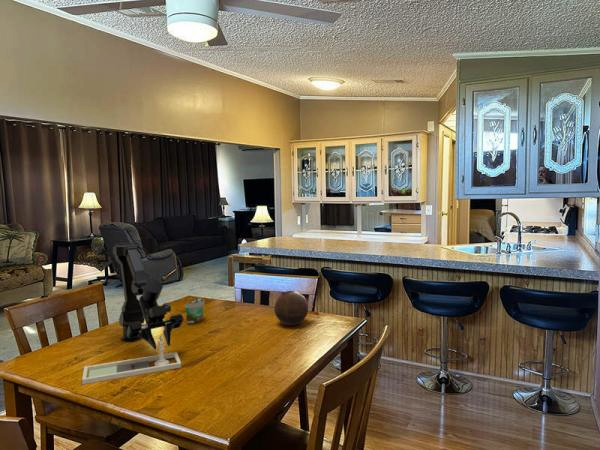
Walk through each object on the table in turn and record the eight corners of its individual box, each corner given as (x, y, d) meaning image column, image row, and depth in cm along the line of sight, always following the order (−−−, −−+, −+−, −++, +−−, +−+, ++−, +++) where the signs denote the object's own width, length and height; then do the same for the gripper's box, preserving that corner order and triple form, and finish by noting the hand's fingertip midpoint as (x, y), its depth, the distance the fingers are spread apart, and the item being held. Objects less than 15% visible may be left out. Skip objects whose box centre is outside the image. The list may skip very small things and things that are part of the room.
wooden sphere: (313, 327, 185) (313, 293, 184) (281, 331, 180) (280, 296, 178) (300, 317, 199) (300, 286, 198) (270, 321, 193) (269, 289, 192)
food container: (198, 326, 188) (197, 304, 187) (185, 325, 190) (184, 303, 189) (209, 318, 200) (209, 297, 199) (197, 317, 202) (196, 296, 201)
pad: (116, 367, 145) (116, 365, 145) (117, 377, 138) (116, 375, 138) (89, 371, 142) (89, 370, 142) (88, 381, 134) (88, 380, 134)
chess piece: (161, 368, 144) (159, 339, 143) (151, 365, 146) (150, 337, 146) (172, 363, 148) (171, 335, 147) (162, 360, 151) (161, 333, 150)
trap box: (176, 356, 154) (176, 352, 154) (181, 367, 144) (181, 363, 144) (84, 370, 143) (84, 366, 142) (82, 384, 133) (82, 379, 132)
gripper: (127, 300, 143) (139, 341, 135) (180, 291, 154) (194, 329, 146) (121, 318, 149) (132, 358, 142) (173, 308, 161) (186, 345, 153)
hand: (162, 347), depth 146 cm, fingers open, 4 cm apart
